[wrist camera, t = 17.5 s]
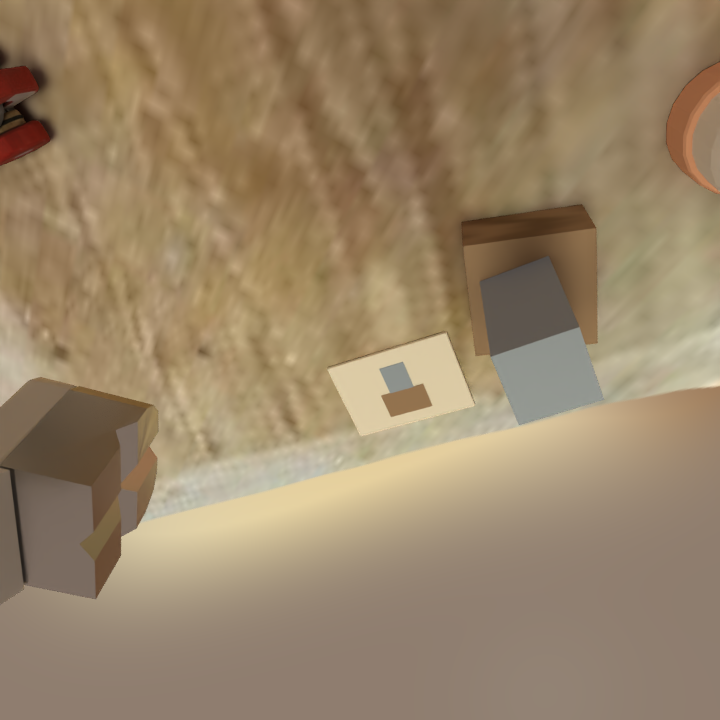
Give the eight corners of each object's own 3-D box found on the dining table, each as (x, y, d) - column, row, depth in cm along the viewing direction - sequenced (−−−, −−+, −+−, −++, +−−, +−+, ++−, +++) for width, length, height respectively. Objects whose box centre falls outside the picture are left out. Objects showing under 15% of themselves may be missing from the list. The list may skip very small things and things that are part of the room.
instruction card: (361, 434, 54) (360, 436, 54) (327, 367, 51) (326, 369, 51) (474, 403, 52) (474, 406, 51) (446, 331, 48) (446, 333, 48)
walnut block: (473, 322, 48) (475, 355, 44) (461, 220, 44) (462, 246, 40) (583, 310, 47) (597, 343, 42) (581, 203, 43) (596, 228, 39)
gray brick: (502, 339, 43) (519, 425, 34) (479, 281, 41) (490, 356, 32) (569, 316, 42) (603, 399, 33) (548, 255, 40) (579, 326, 31)
